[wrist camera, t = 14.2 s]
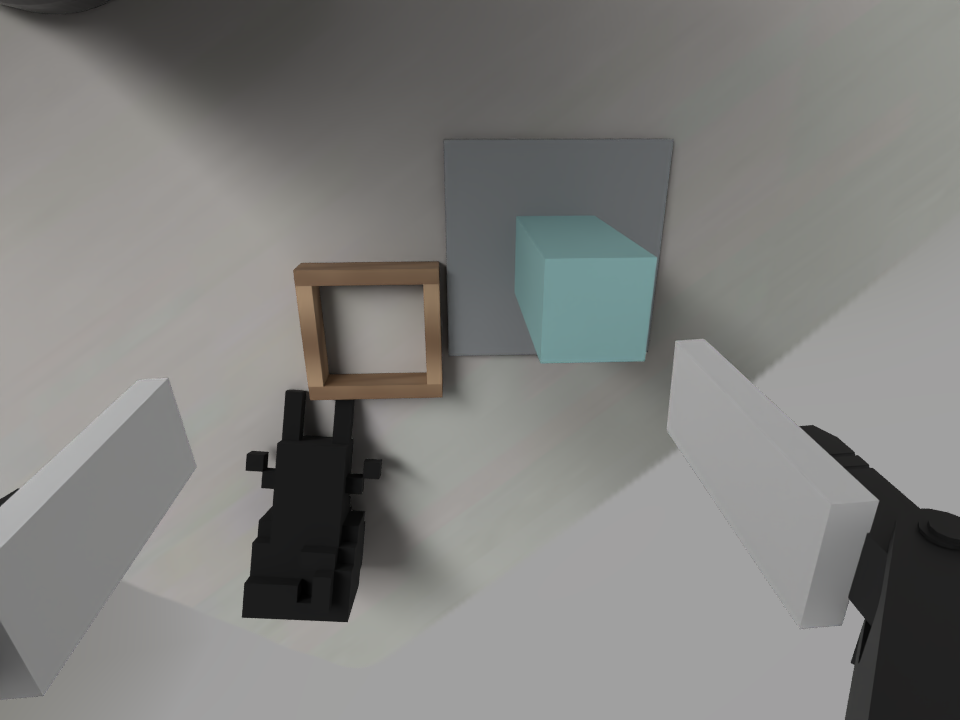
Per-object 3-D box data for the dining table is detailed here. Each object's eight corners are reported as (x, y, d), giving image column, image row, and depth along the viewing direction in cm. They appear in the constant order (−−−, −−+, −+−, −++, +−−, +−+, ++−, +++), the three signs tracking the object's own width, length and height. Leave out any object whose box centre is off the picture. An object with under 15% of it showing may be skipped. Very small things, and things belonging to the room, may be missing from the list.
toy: (381, 404, 37) (362, 631, 37) (390, 392, 45) (375, 579, 45) (234, 393, 36) (217, 625, 37) (270, 382, 44) (256, 573, 45)
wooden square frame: (301, 263, 37) (293, 270, 35) (439, 261, 38) (438, 268, 36) (316, 387, 41) (309, 400, 39) (442, 384, 41) (442, 397, 39)
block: (516, 216, 36) (545, 258, 25) (594, 215, 36) (657, 257, 25) (514, 292, 38) (540, 363, 27) (588, 291, 38) (644, 361, 27)
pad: (443, 139, 35) (443, 139, 34) (670, 138, 35) (673, 139, 35) (448, 352, 40) (448, 355, 40) (645, 348, 41) (647, 352, 40)
